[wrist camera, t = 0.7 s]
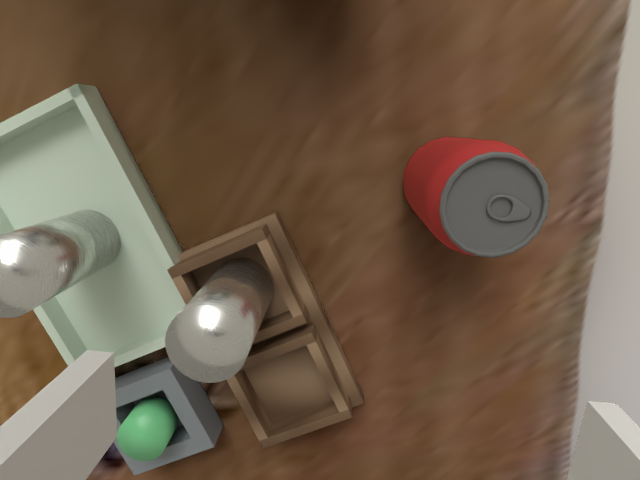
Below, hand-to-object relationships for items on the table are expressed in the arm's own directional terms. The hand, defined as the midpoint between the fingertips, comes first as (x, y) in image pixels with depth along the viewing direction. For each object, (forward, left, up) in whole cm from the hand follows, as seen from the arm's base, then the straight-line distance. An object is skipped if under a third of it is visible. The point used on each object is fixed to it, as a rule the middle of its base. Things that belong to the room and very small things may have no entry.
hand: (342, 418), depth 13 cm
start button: (+9, -21, -22) cm, 32 cm away
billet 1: (-7, -19, -24) cm, 32 cm away
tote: (-7, -19, -24) cm, 32 cm away
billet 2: (+1, -9, -23) cm, 25 cm away
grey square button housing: (+9, -21, -24) cm, 33 cm away
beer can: (0, +9, -25) cm, 26 cm away
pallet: (+6, -9, -24) cm, 27 cm away
